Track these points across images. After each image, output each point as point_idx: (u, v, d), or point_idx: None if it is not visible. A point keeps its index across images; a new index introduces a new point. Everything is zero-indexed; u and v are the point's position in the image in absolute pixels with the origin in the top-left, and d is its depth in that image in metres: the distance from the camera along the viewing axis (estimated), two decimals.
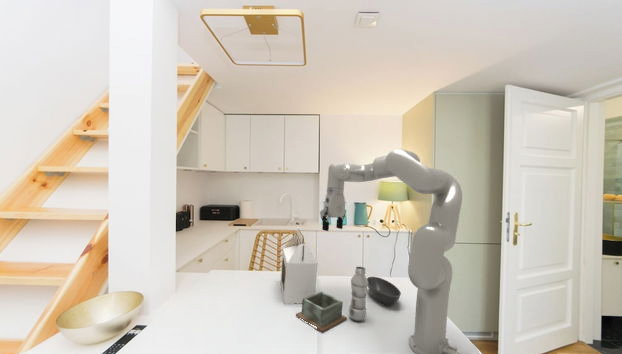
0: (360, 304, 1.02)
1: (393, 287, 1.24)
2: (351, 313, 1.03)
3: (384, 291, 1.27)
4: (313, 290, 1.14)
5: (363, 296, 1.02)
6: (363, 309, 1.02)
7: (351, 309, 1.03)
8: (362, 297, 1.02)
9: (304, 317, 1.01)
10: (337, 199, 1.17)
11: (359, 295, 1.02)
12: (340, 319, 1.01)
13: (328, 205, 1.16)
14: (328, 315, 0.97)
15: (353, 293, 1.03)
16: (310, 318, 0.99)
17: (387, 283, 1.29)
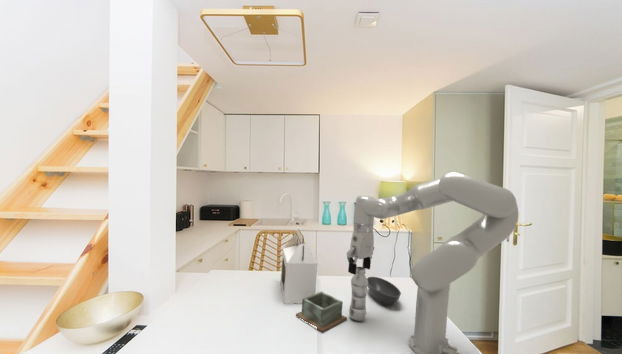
0: (360, 304, 1.02)
1: (393, 287, 1.24)
2: (351, 313, 1.03)
3: (384, 291, 1.27)
4: (313, 290, 1.14)
5: (363, 296, 1.02)
6: (363, 309, 1.02)
7: (351, 309, 1.03)
8: (362, 297, 1.02)
9: (304, 317, 1.01)
10: (366, 237, 1.01)
11: (359, 295, 1.02)
12: (340, 319, 1.01)
13: (356, 244, 1.00)
14: (328, 315, 0.97)
15: (353, 293, 1.03)
16: (310, 318, 0.99)
17: (387, 283, 1.29)
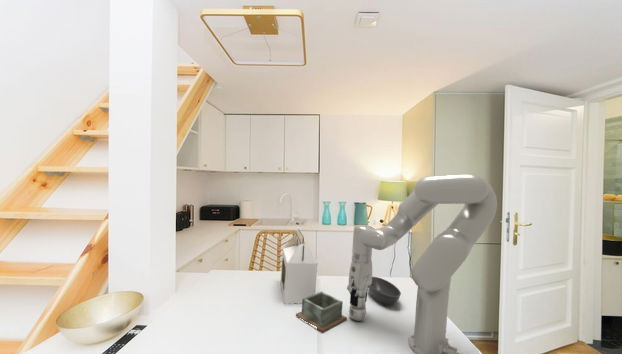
0: (360, 304, 1.02)
1: (393, 287, 1.24)
2: (351, 313, 1.03)
3: (384, 291, 1.27)
4: (313, 290, 1.14)
5: (363, 296, 1.02)
6: (363, 309, 1.02)
7: (351, 309, 1.03)
8: (362, 297, 1.02)
9: (304, 317, 1.01)
10: (364, 267, 1.01)
11: (359, 295, 1.02)
12: (340, 319, 1.01)
13: (354, 275, 1.00)
14: (328, 315, 0.97)
15: None
16: (310, 318, 0.99)
17: (387, 283, 1.29)
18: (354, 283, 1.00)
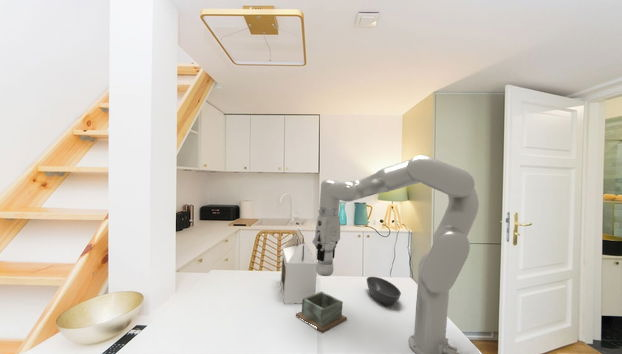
0: (327, 258, 1.00)
1: (393, 287, 1.24)
2: (318, 268, 1.01)
3: (384, 291, 1.27)
4: (313, 290, 1.14)
5: (330, 251, 1.01)
6: (330, 264, 1.01)
7: (318, 264, 1.01)
8: (328, 252, 1.00)
9: (304, 317, 1.01)
10: (330, 222, 1.00)
11: (325, 250, 1.00)
12: (340, 319, 1.01)
13: (320, 229, 0.99)
14: (328, 315, 0.97)
15: None
16: (310, 318, 0.99)
17: (387, 283, 1.29)
18: (320, 237, 0.98)
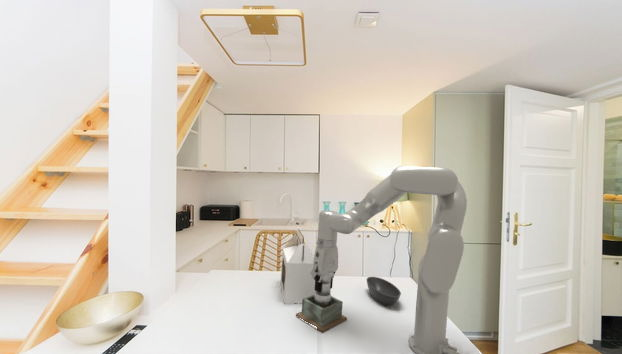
0: (324, 290, 1.00)
1: (393, 287, 1.24)
2: (315, 299, 1.01)
3: (384, 291, 1.27)
4: (313, 290, 1.14)
5: (327, 282, 1.01)
6: (327, 295, 1.01)
7: (315, 295, 1.02)
8: (326, 283, 1.00)
9: (304, 317, 1.01)
10: (328, 253, 1.00)
11: (323, 281, 1.00)
12: (340, 319, 1.01)
13: (318, 261, 0.99)
14: (328, 315, 0.97)
15: None
16: (310, 318, 0.99)
17: (387, 283, 1.29)
18: (318, 269, 0.98)
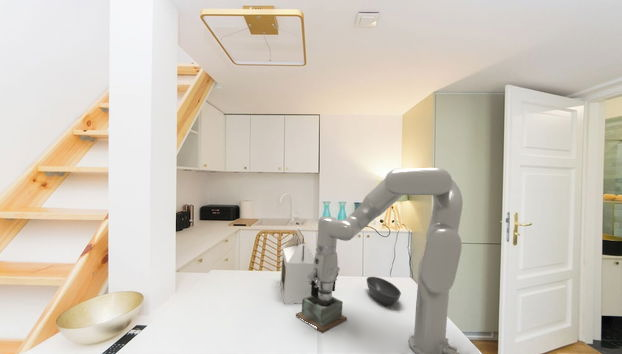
0: (326, 300, 1.01)
1: (393, 287, 1.24)
2: None
3: (384, 291, 1.27)
4: None
5: (328, 292, 1.01)
6: (328, 305, 1.01)
7: None
8: (327, 293, 1.01)
9: (304, 317, 1.01)
10: (328, 259, 1.00)
11: (324, 292, 1.01)
12: (340, 319, 1.01)
13: (317, 267, 0.99)
14: (328, 315, 0.97)
15: (319, 289, 1.02)
16: (310, 318, 0.99)
17: (387, 283, 1.29)
18: (317, 272, 0.98)
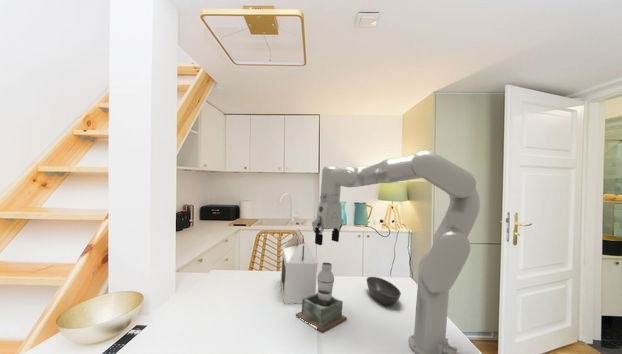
0: (326, 300, 1.01)
1: (393, 287, 1.24)
2: None
3: (384, 291, 1.27)
4: (313, 290, 1.14)
5: (328, 292, 1.01)
6: (328, 305, 1.01)
7: None
8: (327, 293, 1.01)
9: (304, 317, 1.01)
10: (332, 207, 1.00)
11: (324, 291, 1.01)
12: (340, 319, 1.01)
13: (322, 215, 0.99)
14: (328, 315, 0.97)
15: (319, 289, 1.02)
16: (310, 318, 0.99)
17: (387, 283, 1.29)
18: (321, 219, 0.99)
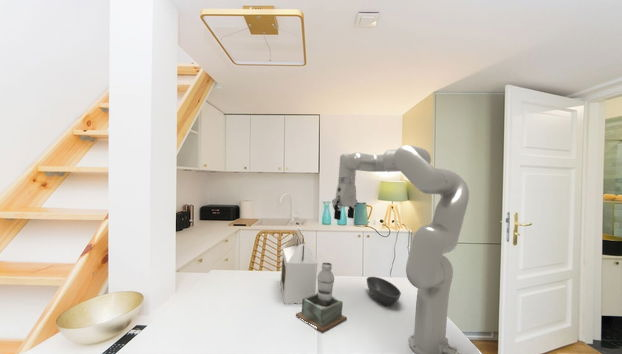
0: (326, 300, 1.01)
1: (393, 287, 1.24)
2: None
3: (384, 291, 1.27)
4: (313, 290, 1.14)
5: (328, 292, 1.01)
6: (328, 305, 1.01)
7: None
8: (327, 293, 1.01)
9: (304, 317, 1.01)
10: (348, 188, 1.18)
11: (324, 291, 1.01)
12: (340, 319, 1.01)
13: (340, 194, 1.17)
14: (328, 315, 0.97)
15: (319, 289, 1.02)
16: (310, 318, 0.99)
17: (387, 283, 1.29)
18: (340, 198, 1.17)
